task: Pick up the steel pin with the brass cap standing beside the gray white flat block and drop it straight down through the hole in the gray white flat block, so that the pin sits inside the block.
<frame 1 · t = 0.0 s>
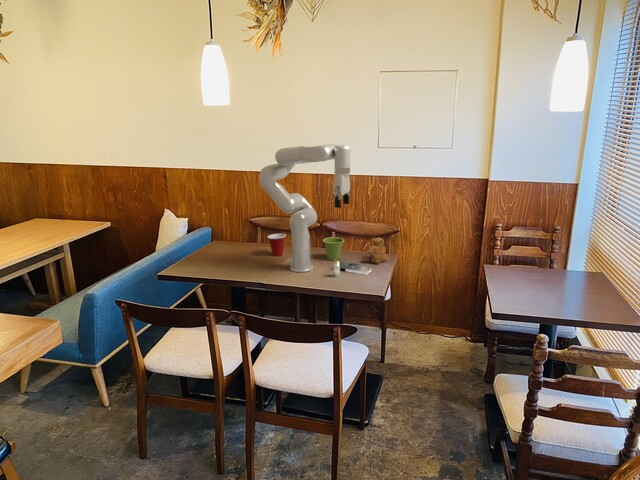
hand: (342, 205, 240), 37 cm above the table, tool pointing down, fingers open, 9 cm apart
plant pot: (333, 259, 276), on the table
teddy bear: (377, 261, 272), on the table
steel pin: (336, 276, 249), on the table
plastic cup: (277, 255, 284), on the table
gray white flat block: (353, 270, 257), on the table
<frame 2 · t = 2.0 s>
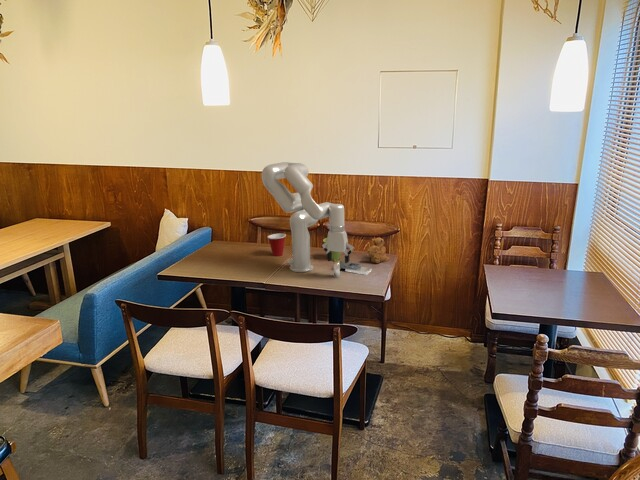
hand: (338, 261, 246), 8 cm above the table, tool pointing down, fingers open, 9 cm apart
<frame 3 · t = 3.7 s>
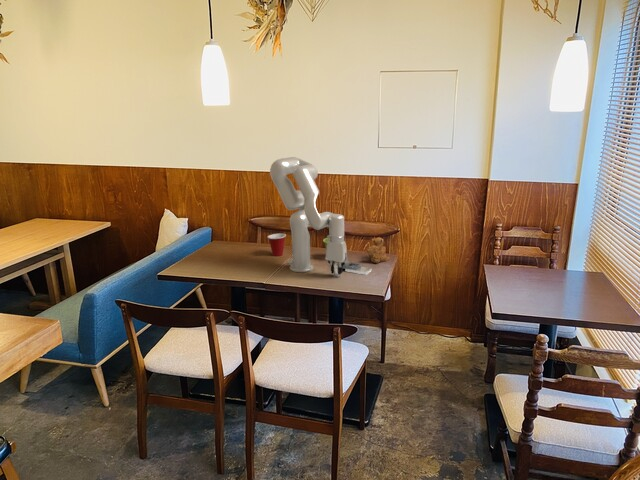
hand: (336, 272, 248), 2 cm above the table, tool pointing down, fingers closed on steel pin, 3 cm apart
steel pin: (336, 276, 249), on the table, touching gripper
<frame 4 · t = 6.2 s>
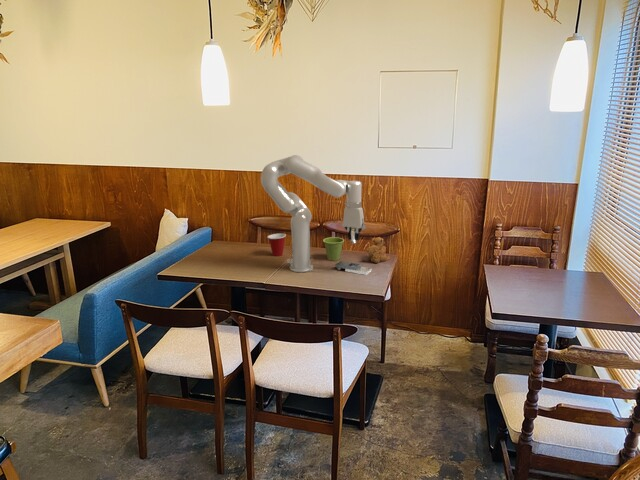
hand: (353, 239, 252), 17 cm above the table, tool pointing down, fingers closed on steel pin, 3 cm apart
steel pin: (353, 242, 253), point 15 cm above the table, touching gripper
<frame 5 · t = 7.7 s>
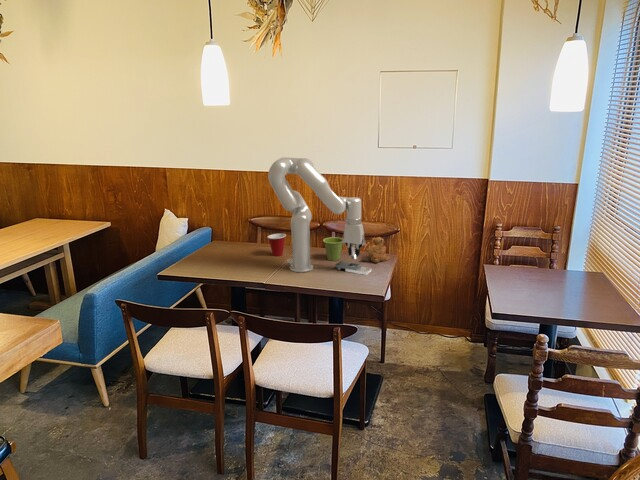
hand: (354, 255, 255), 9 cm above the table, tool pointing down, fingers closed on steel pin, 3 cm apart
steel pin: (354, 258, 255), point 7 cm above the table, touching gripper
when the fingers open (5 cm above the table, at t = 9.0 s): steel pin drops 4 cm, resting in gray white flat block.
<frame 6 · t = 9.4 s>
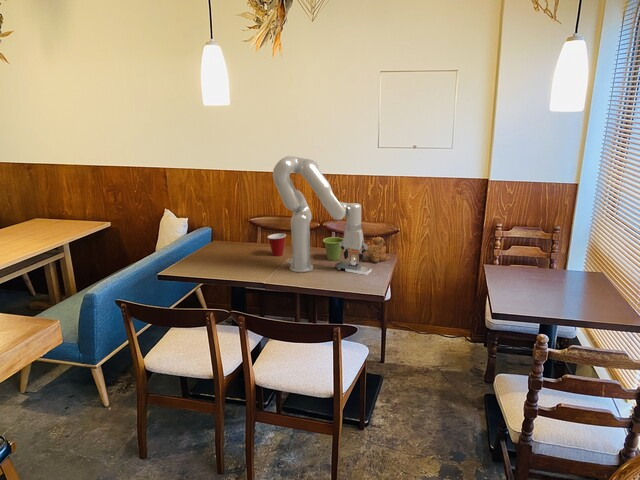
hand: (353, 259, 256), 6 cm above the table, tool pointing down, fingers open, 7 cm apart
steel pin: (353, 270, 257), resting in gray white flat block
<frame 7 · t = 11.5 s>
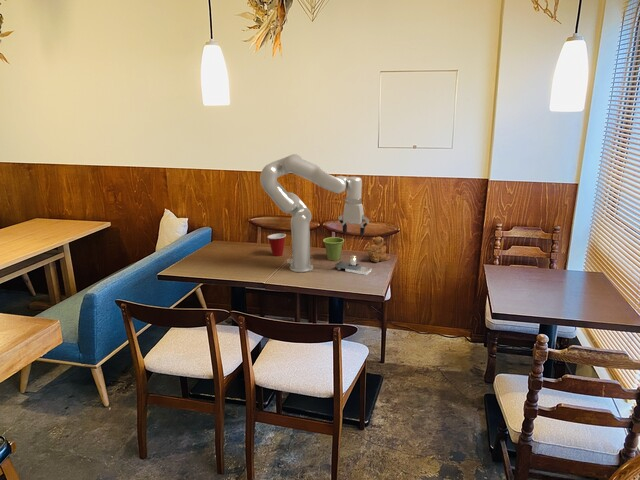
hand: (353, 233, 252), 20 cm above the table, tool pointing down, fingers open, 9 cm apart
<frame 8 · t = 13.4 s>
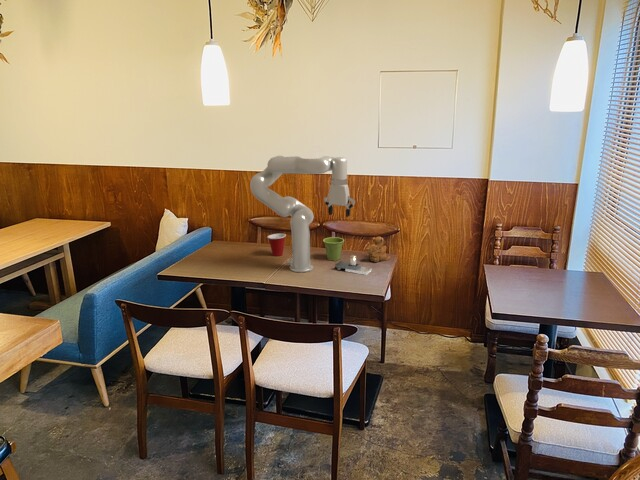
hand: (339, 215, 247), 30 cm above the table, tool pointing down, fingers open, 9 cm apart
at the end: steel pin 0.1 cm off-centre on the gray white flat block, point 0.0 cm above the gray white flat block's base; steel pin tilted 0°; the gripper is holding nothing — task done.
